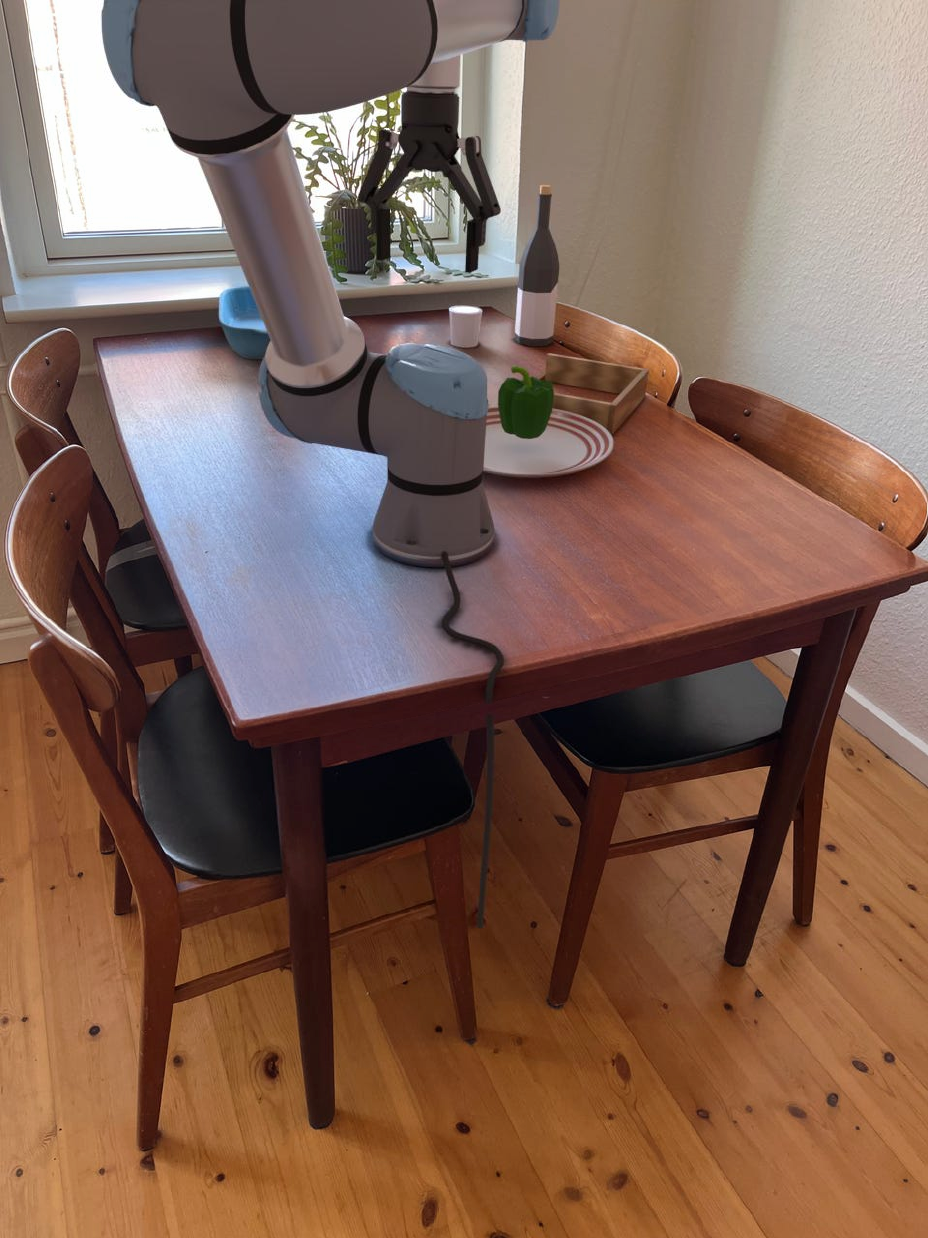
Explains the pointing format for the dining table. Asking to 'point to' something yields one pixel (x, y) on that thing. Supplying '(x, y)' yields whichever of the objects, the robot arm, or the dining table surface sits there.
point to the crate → (597, 388)
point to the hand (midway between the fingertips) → (426, 264)
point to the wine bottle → (538, 281)
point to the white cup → (465, 325)
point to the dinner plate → (546, 447)
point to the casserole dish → (243, 323)
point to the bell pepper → (525, 405)
